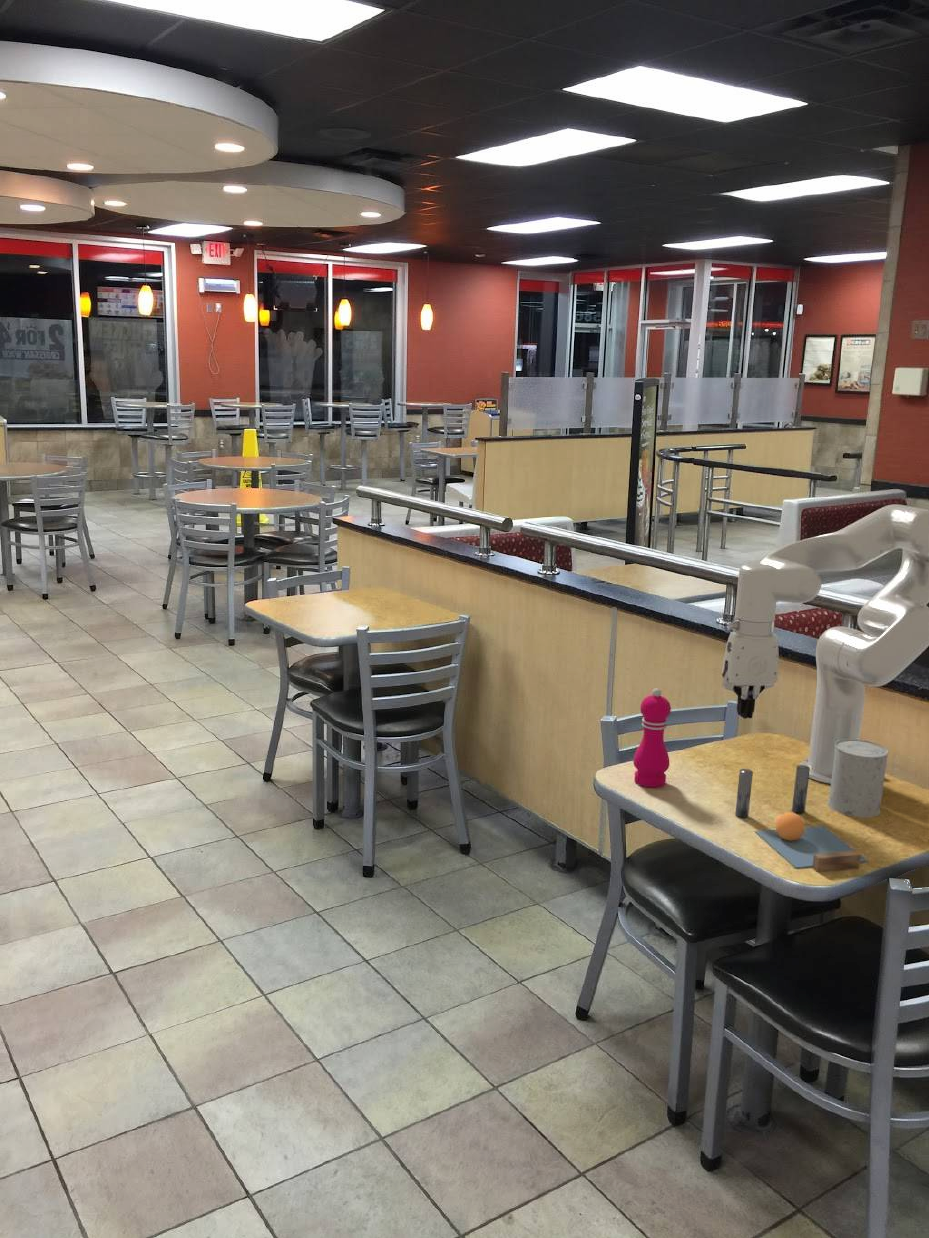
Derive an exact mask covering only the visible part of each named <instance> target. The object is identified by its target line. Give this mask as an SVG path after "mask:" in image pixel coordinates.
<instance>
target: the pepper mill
mask: <svg viewBox="0 0 929 1238" xmlns="http://www.w3.org/2000/svg"><path fill="white" fill-rule="evenodd" d="M639 709H640V713H641V715H642V719H641V722H642V723H641V726H642V727H643V734H642V739H641V741H640V743H639V746H638V747H637V749H636V750H635V753H634V756H633V766H634V767H635V769H636V771H635V773H634V782H635V784H637V785H638V784H639V786H640V785H642V786H641V787H643V786H646V787H645V788H648V787H652V788H651V789H658V787H659V788H661V787H664V786H665V785H666V781H667V775H666V773H665V772H667V771H668V770H669V767H670V756H669V753H668V750H667V748H666V745H665V740H664V737H665V735H664V733H665V729H667V727H668V725H667V723H668V720H667V718H668V717H669V716H670V715H671V711H672V708H671V703H670V701H669V700H668V699H667V698H666V697H664V696H663V695H662V690H661V689H659V688H656V687H655V688H654V689H653V690H652V692H651V695H647V696H646V697H644V698H643V699H642V701H641V703H640V708H639ZM653 787H654V788H653Z"/></svg>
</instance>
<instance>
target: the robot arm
mask: <svg viewBox="0 0 929 1238" xmlns="http://www.w3.org/2000/svg"><path fill="white" fill-rule="evenodd" d="M897 549H901V550H902V557H901V558H902V559H901V564H900V568H899V570H898V571H897V573H896V574H895V575H894V576H893V578H892V579H891V580H890V581H888V583H886V584H885V585H884V586H883V587H882V588H881V589H880V590H879V591H878V592H877V593H875V594H874V595H873V596H872V597H871V598H870V599H869V600H868V601H867V602H866V603H865V604H863V606H862V607H861V609H860V610H859V612H858V614H857V625H858V627H859V629H860V630H861V631H860V630H858V629H856V628H852V627H848V626H840V625H839V626H833V627H829V628H828V629H826V630H825V631H824V632H822V634H821V635H820V636H819V638H818V640H817V643H816V646H815V647H816V648H815V661H816V678H817V679H816V691H815V692H816V693H815V700H814V710H813V717H812V725H811V733H810V742H809V751H808V758H806V759H803V760H802V761H800V763H799V765H805V766H808V767H809V768H810V772H809V779H812V780H814V781H818V782H821V783H825V784H829V785H831V781H832V772H833V764H834V756H835V748H836V746H835V744H836V742H838V741H840V740H845V739H858V740H861V739H860V738H861V730H862V724H863V714H864V707H865V702H866V701H865V699H866V691H865V685H867V686H869V687H882V686H885V685H888V683H890V682H891V681H893V680H894V679H896V678H897V676H899V675H900V674H901V673H902V672H903V671H904V670H905V669H906V668H907V667H908V666H910V665H911V664H912V663H913V662H914V661H915V660H916V659H917V658H918V657H919V656H920V655H921V654H922V653H924V651H926V649H927V648H928V647H929V606H928V604H929V509H926V508H921V507H915V506H908V505H904V504H889V505H885V506H883V507H881V508H878V509H877V510H875V511H873V512H871V513H870V514H868V515H865V516H864V517H861V518H860V519H858V520H856V521H855V522H853V523H850V524H849V525H847V526H845V527H844V528H841V529H839V530H837V531H833V532H830V533H826V534H821V535H818V536H817V535H816V536H812V537H810V538H809V537H808V538H803V539H802V540H798V541H794V542H791V543H790V544H787V545H785V546H783V547H781V548H779V549H777V550H775V551H773V552H772V553H770V554H767V556H765V557H764V558H762V559H761V560H760V561H759V562H757V563H755V562H753V563H751V562H750V563H745V564H743V565H741V567H740V568H739V571H738V580H737V587H736V588H737V590H736V599H735V600H736V601H735V609H734V617H733V620H732V621H729V622H728V623H727V628H728V630H729V629H730V630H732V631H731V632H730V633H729V636H728V638H727V642H726V646H725V650H724V655H723V660H722V672H721V676H722V680H723V681H722V682H721V687H722V688H724V689H725V690H727V691H733V693H735V695H736V696H737V702H736V711H737V715H739V716H740V717H741V718H742V719H744V720H745V719H753V715H754V713H755V706H756V700H757V699H758V698H759V696H760V694H761V693H762V692H763V691H764V690H768V689H771V688H773V687H774V685H775V683H777V681H778V678H779V677H778V676H779V662H780V661H779V659H780V658H779V655H780V654H779V653H780V652H779V641H778V635H777V634H775V633H774V631H775V630H774V629H775V628H774V627H775V617H776V610H777V603H778V602H781V603H789V604H790V603H791V604H804V603H807V602H811V601H812V600H814V599H815V598H816V597H817V596H818V595H819V593H820V591H821V589H822V579H821V577H820V575H819V573H820V572H845V571H854V570H858V569H860V568H861V569H862V568H863V567H865V566H866V565H868V564H870V563H872V562H873V561H875V560H878V559H879V558H881V557H883V556H884V555H886V554H889V553H890V552H892V551H894V550H897ZM818 572H819V573H818Z"/></svg>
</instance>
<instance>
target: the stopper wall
mask: <svg viewBox="0 0 929 1238" xmlns="http://www.w3.org/2000/svg"><path fill="white" fill-rule="evenodd" d="M861 855H862V854H861V853H859V851H857V850H856V851H845V852H833V853H822V854H814V857H813V865H812V867H811V868H812V869H813V870H814V871H815V872H817V873H819V872H821V873H822V872H827V871H828V872H831V871H832V872H833V871H840V870H841V871H842V870H852V869H860V863H861V862H860V858H861Z"/></svg>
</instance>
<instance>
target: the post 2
mask: <svg viewBox="0 0 929 1238" xmlns="http://www.w3.org/2000/svg"><path fill="white" fill-rule="evenodd" d="M809 772H810V768H809V767H808V766H805V765H800V764H799V765H796V771H795V777H794V779H795V780H794V788H793V795H792V805H791V813H795V814H797V815H801V814H802V815H803V814H805V813H806V806H807V805H806V804H807V797H808V788H809V787H808V786H809V779H810V778H809Z"/></svg>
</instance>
